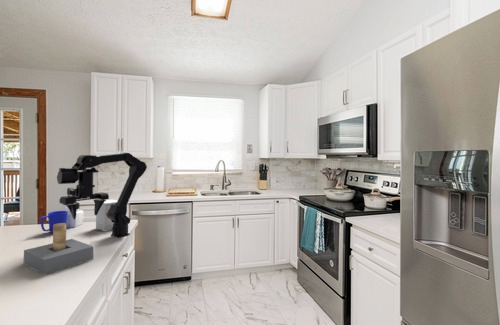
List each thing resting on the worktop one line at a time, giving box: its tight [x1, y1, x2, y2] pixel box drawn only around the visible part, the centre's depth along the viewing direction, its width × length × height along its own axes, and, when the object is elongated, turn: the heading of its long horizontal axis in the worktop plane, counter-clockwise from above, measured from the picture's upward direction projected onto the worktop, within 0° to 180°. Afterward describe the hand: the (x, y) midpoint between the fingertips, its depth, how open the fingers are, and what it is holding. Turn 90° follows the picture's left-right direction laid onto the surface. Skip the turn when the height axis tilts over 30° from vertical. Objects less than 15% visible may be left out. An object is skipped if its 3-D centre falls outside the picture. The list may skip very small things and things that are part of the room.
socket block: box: [23, 238, 94, 275], centre depth 99 cm, size 16×16×5 cm
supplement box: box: [95, 199, 118, 232], centre depth 144 cm, size 9×9×15 cm
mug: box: [39, 210, 68, 234], centre depth 133 cm, size 8×12×10 cm
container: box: [64, 201, 84, 228], centre depth 147 cm, size 8×8×13 cm
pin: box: [52, 223, 67, 252], centre depth 98 cm, size 4×4×13 cm
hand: (85, 217), depth 119 cm, fingers open, 9 cm apart
